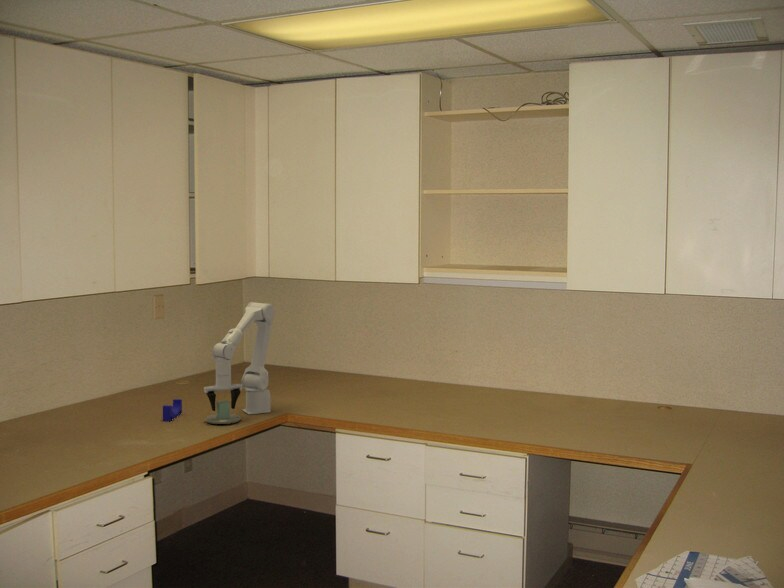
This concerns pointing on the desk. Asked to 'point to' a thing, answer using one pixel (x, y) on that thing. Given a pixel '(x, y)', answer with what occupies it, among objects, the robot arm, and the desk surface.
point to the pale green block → (223, 409)
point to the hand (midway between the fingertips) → (223, 409)
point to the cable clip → (172, 410)
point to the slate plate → (215, 420)
